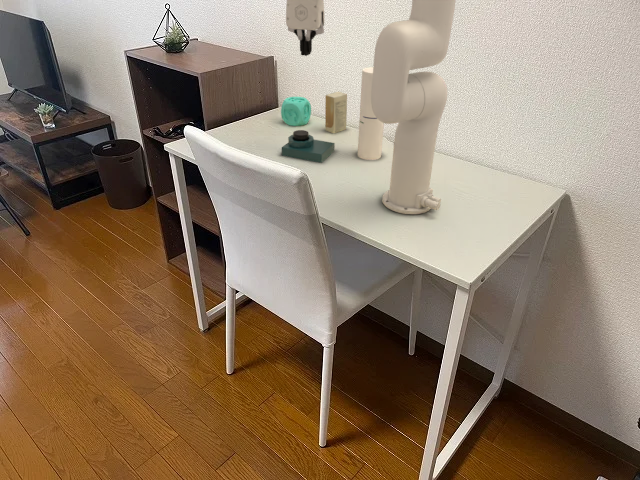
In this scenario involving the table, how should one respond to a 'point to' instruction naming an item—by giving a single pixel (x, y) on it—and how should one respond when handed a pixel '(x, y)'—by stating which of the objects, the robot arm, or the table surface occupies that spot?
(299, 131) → the button
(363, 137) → the cylindrical container
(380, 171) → the table surface
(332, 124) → the cosmetic box
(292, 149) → the base
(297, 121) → the decorative dice
